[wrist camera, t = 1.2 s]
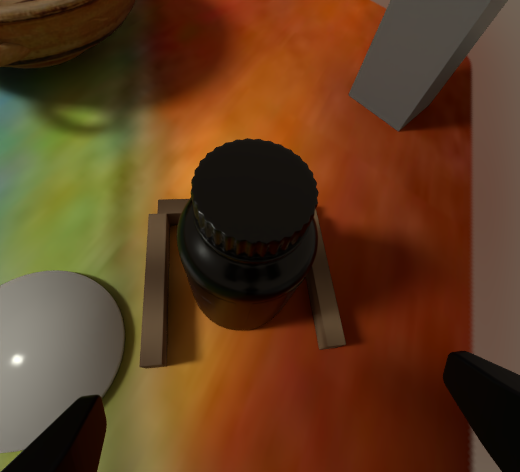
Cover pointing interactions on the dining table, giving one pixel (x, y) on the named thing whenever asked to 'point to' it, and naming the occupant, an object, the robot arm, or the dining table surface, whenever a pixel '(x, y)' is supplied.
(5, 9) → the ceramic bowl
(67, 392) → the coaster
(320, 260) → the wooden u-shaped frame
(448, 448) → the dining table surface
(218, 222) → the supplement bottle
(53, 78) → the dining table surface
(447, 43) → the perfume bottle
